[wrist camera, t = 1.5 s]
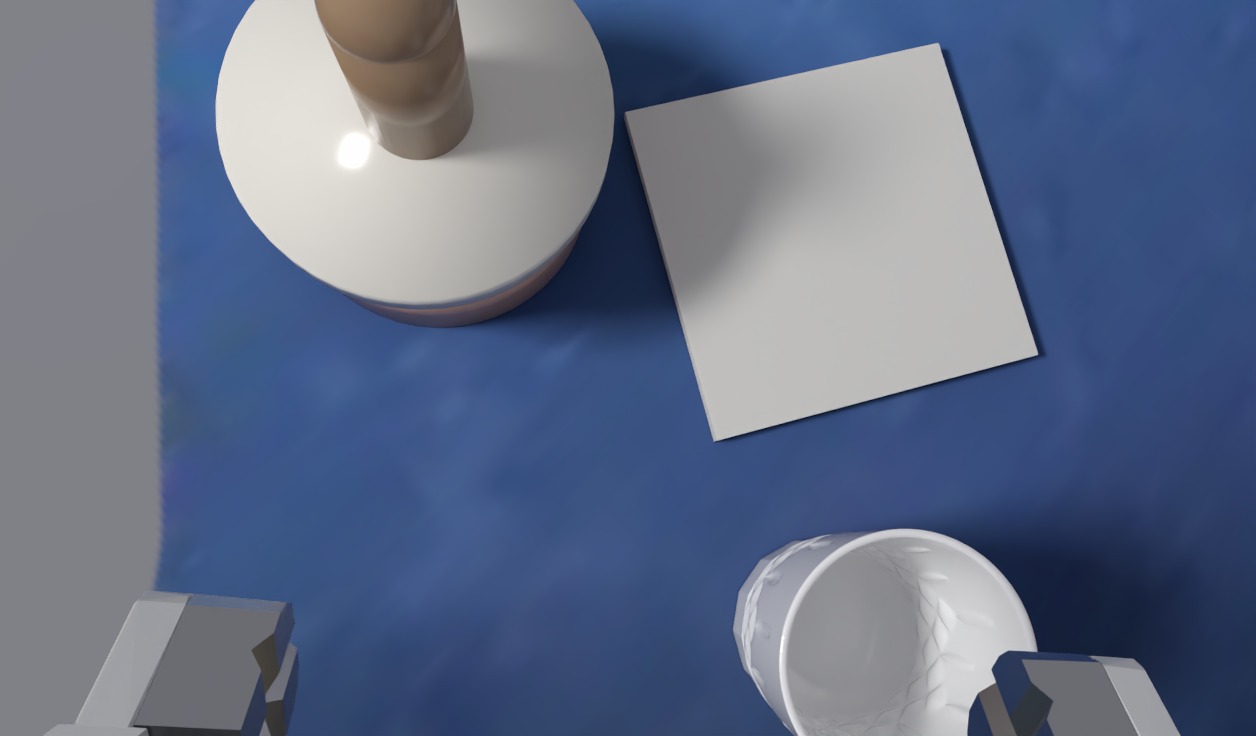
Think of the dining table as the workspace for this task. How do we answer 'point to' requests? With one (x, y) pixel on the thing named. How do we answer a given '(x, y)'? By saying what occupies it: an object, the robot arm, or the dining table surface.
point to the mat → (827, 239)
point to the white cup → (877, 632)
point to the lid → (416, 140)
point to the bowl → (477, 309)
